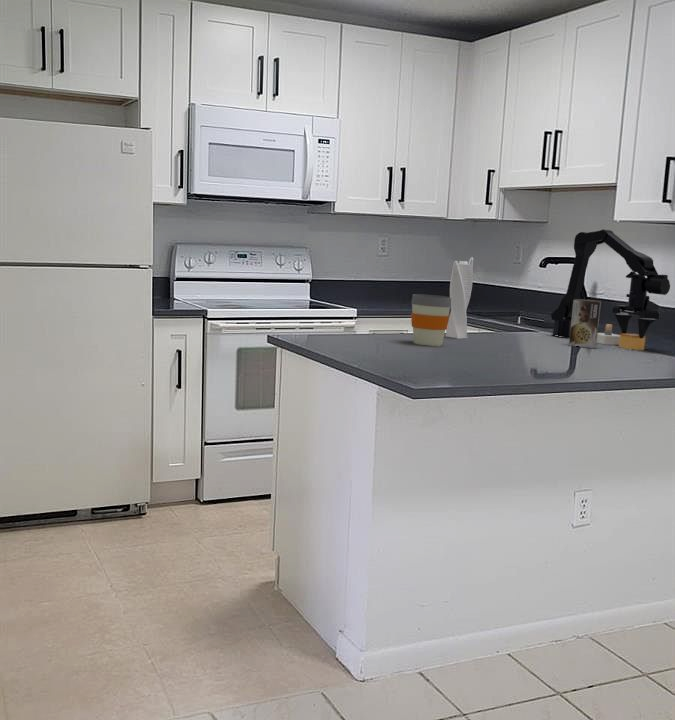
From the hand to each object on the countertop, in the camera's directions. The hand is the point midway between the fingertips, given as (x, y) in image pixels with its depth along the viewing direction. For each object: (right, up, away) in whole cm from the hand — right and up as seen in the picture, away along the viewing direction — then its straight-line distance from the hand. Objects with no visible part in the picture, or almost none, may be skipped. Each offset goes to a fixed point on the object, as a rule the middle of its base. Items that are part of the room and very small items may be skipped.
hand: (632, 336), depth 300 cm
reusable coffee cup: (-75, -3, -31) cm, 81 cm away
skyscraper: (-63, -1, -6) cm, 63 cm away
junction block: (-4, -2, +15) cm, 16 cm away
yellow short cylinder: (0, -4, +1) cm, 4 cm away
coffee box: (-19, -4, -4) cm, 20 cm away
